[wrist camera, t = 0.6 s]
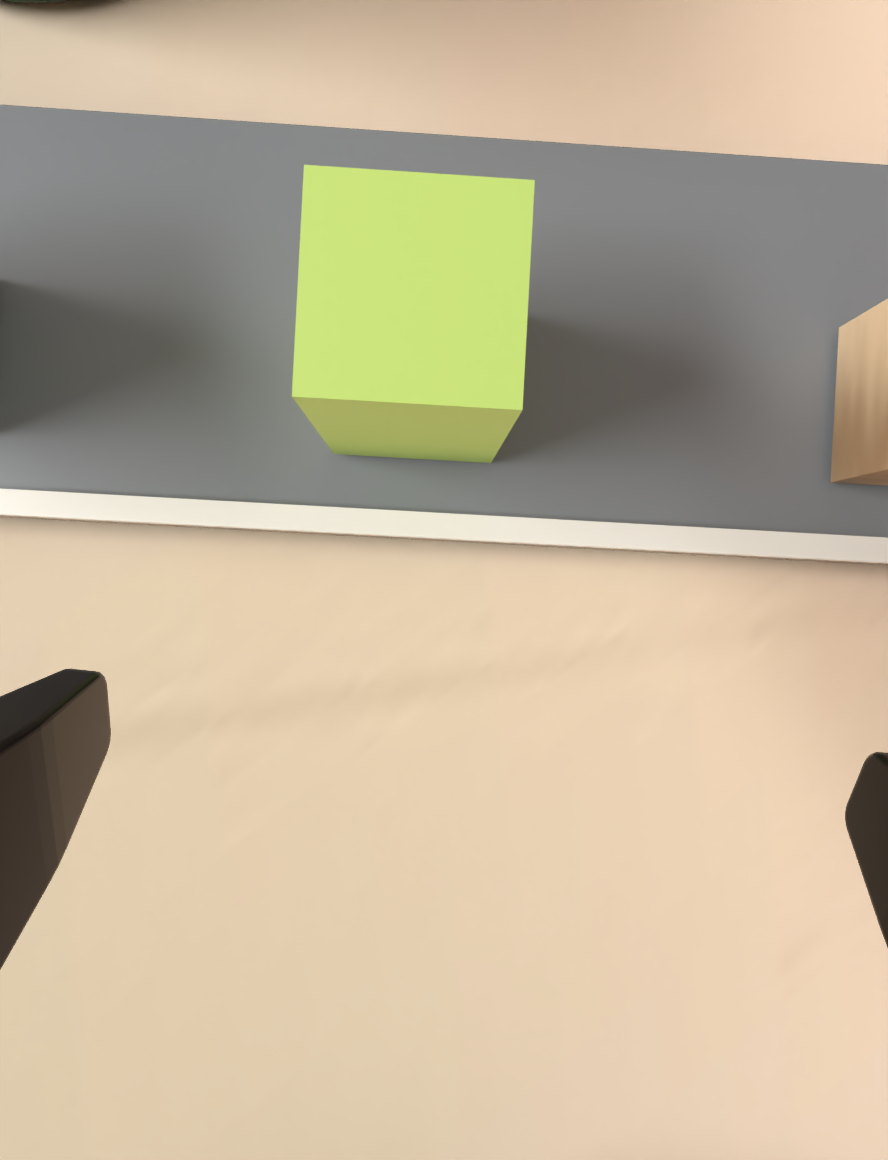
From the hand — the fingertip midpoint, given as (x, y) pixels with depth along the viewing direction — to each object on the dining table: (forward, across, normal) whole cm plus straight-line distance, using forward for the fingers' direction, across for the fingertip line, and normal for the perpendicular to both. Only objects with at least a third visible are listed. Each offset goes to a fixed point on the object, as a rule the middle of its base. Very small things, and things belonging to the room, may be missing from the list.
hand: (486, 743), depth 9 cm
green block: (+18, +2, -1) cm, 18 cm away
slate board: (+20, +2, -2) cm, 20 cm away
